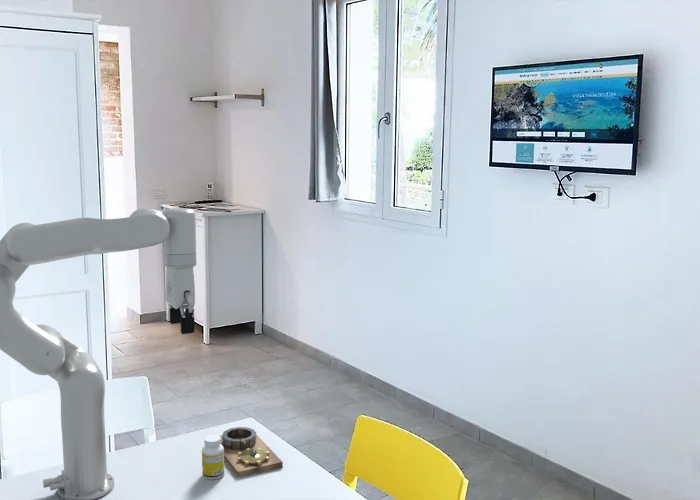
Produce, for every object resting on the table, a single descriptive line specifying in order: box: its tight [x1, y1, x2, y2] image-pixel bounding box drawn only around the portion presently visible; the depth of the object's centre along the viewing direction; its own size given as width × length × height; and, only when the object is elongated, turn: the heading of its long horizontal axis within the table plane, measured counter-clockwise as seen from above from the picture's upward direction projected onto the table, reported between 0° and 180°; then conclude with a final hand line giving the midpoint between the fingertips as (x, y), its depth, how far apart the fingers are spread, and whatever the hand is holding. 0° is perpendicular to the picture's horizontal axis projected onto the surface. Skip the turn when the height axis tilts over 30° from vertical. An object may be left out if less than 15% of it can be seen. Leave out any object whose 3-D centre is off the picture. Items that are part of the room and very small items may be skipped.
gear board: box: [219, 434, 284, 478], centre depth 188 cm, size 12×22×2 cm, turn 29°
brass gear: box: [237, 448, 269, 466], centre depth 182 cm, size 8×8×2 cm
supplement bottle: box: [201, 434, 225, 480], centre depth 176 cm, size 5×5×10 cm
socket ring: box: [221, 426, 257, 450], centre depth 191 cm, size 9×9×2 cm
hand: (182, 328), depth 174 cm, fingers open, 9 cm apart
